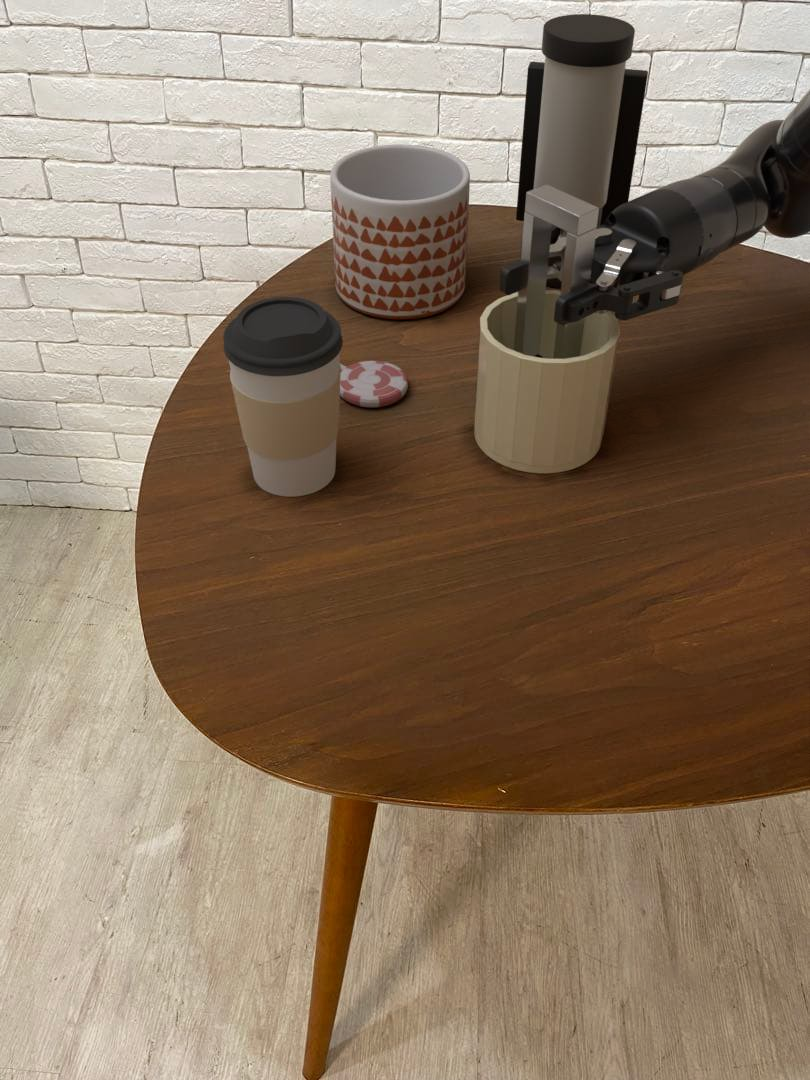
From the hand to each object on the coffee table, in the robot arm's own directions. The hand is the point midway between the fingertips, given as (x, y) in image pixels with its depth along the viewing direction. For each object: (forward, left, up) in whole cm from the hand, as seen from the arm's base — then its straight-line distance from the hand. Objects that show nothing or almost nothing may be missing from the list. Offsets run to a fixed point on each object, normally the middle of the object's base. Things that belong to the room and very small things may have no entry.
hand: (530, 297), depth 81 cm
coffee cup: (+17, +10, -15) cm, 24 cm away
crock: (-1, -2, -14) cm, 15 cm away
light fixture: (+4, -33, -15) cm, 36 cm away
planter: (+19, -22, -15) cm, 33 cm away
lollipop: (+19, -5, -14) cm, 24 cm away
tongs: (-1, -2, -9) cm, 9 cm away
